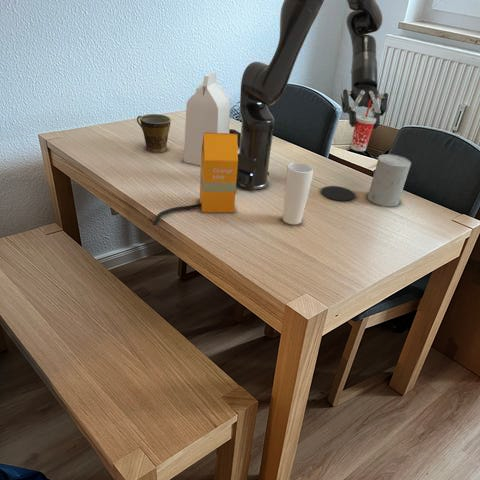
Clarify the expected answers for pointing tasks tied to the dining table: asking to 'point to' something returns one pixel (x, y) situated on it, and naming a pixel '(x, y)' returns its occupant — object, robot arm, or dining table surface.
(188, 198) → the dining table surface
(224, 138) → the orange juice
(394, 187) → the grey wide plain cylinder
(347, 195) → the coaster
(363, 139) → the beverage cup
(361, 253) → the dining table surface
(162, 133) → the ceramic cup
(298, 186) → the drinking glass
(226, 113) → the milk
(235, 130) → the hairbrush
